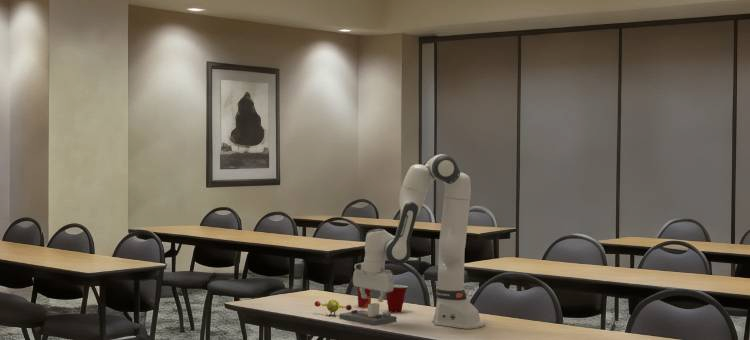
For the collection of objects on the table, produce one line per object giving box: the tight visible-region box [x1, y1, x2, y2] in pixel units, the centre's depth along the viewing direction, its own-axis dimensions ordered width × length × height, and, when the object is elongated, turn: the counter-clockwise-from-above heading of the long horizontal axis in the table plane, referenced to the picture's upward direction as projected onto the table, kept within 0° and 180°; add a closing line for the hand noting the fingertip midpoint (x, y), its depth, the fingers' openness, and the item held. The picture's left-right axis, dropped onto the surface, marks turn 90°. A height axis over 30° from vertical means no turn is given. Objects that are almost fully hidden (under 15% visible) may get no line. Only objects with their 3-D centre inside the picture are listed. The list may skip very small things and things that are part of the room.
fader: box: [367, 302, 380, 317], centre depth 399 cm, size 2×5×5 cm, turn 138°
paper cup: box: [357, 287, 373, 309], centre depth 435 cm, size 8×8×14 cm
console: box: [339, 309, 397, 326], centre depth 402 cm, size 20×14×4 cm
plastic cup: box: [385, 284, 409, 313], centre depth 425 cm, size 11×11×12 cm
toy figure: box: [314, 299, 353, 317], centre depth 410 cm, size 18×6×7 cm, turn 64°
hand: (372, 299), depth 399 cm, fingers open, 8 cm apart
